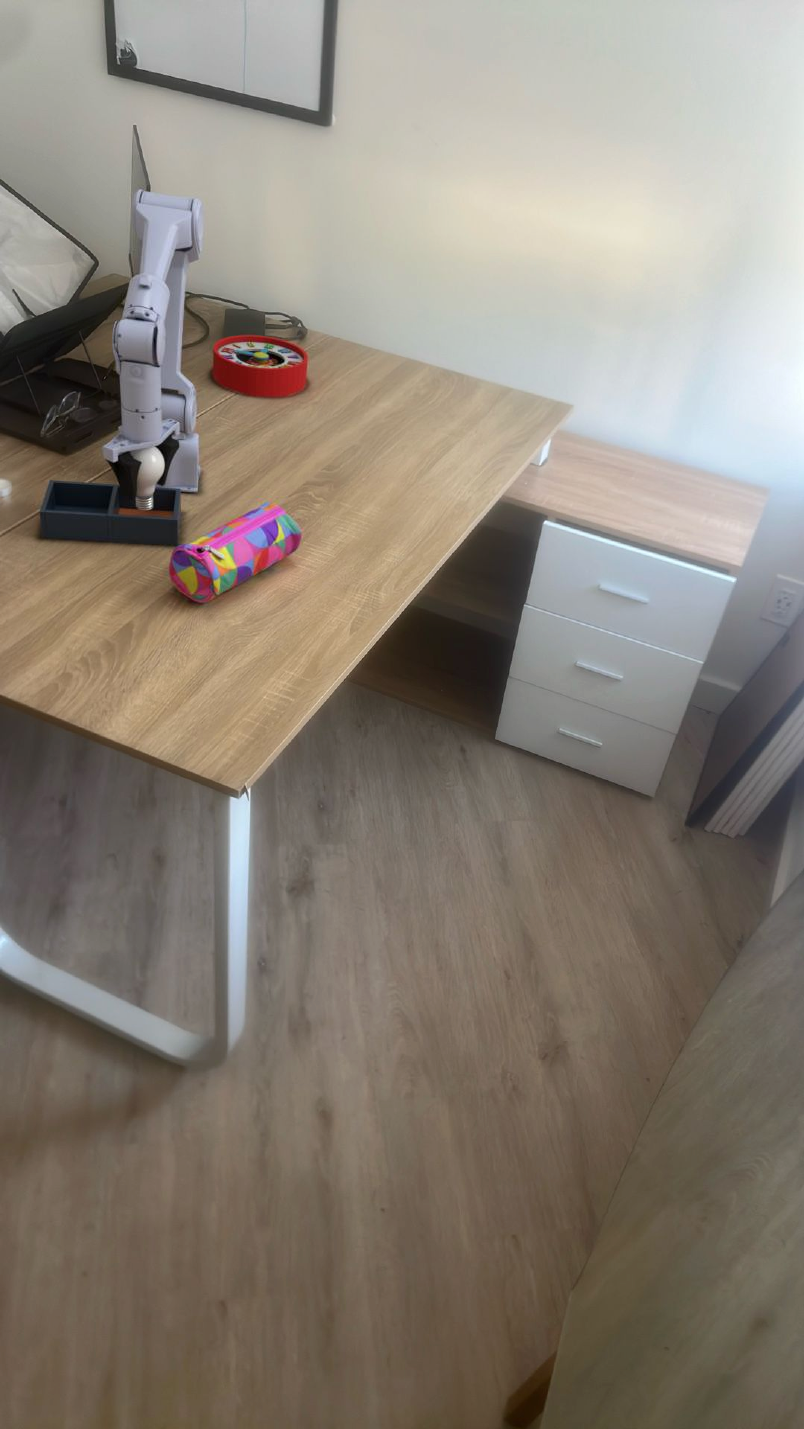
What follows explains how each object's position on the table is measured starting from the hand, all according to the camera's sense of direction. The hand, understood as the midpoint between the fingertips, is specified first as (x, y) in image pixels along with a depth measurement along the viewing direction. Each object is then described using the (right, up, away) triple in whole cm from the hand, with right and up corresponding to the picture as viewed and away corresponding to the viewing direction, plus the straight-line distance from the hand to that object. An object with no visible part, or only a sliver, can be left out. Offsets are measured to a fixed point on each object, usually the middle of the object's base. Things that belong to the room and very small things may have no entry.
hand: (144, 490), depth 147 cm
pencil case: (+15, -14, -3) cm, 21 cm away
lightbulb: (-1, -3, +2) cm, 4 cm away
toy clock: (+9, +38, +59) cm, 71 cm away
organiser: (-6, -5, +3) cm, 8 cm away
